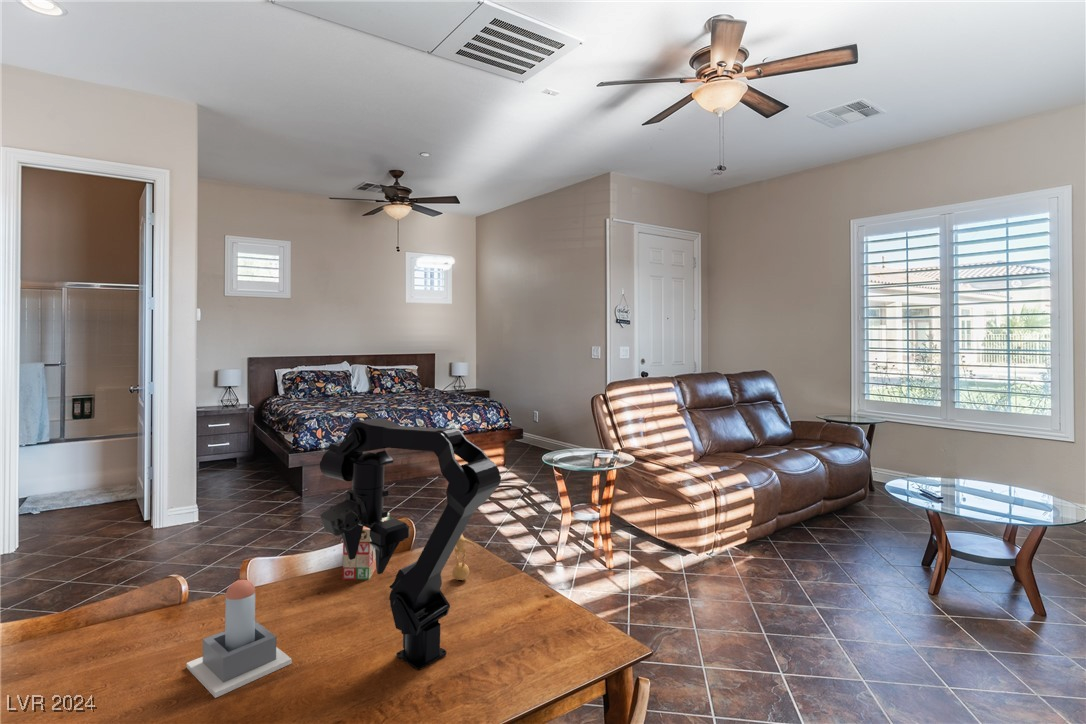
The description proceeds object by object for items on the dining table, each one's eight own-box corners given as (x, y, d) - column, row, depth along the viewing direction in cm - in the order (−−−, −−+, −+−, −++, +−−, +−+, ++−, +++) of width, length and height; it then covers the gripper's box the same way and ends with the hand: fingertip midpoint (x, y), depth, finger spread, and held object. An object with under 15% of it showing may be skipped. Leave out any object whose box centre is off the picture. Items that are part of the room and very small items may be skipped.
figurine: (478, 576, 130) (479, 526, 129) (477, 587, 124) (478, 535, 123) (443, 576, 129) (444, 526, 129) (440, 587, 123) (441, 535, 123)
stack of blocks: (367, 545, 147) (367, 501, 147) (390, 546, 148) (391, 501, 147) (342, 580, 126) (342, 528, 126) (369, 580, 126) (370, 528, 126)
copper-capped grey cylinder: (260, 655, 94) (261, 576, 94) (241, 669, 90) (242, 587, 89) (237, 651, 95) (238, 574, 94) (218, 666, 90) (219, 585, 90)
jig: (291, 663, 93) (291, 636, 93) (215, 698, 84) (215, 667, 84) (259, 638, 101) (260, 612, 100) (186, 667, 91) (186, 639, 91)
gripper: (301, 483, 102) (299, 564, 102) (358, 505, 90) (355, 597, 91) (354, 473, 110) (352, 548, 111) (412, 492, 99) (409, 576, 99)
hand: (365, 566), depth 103 cm, fingers open, 9 cm apart
